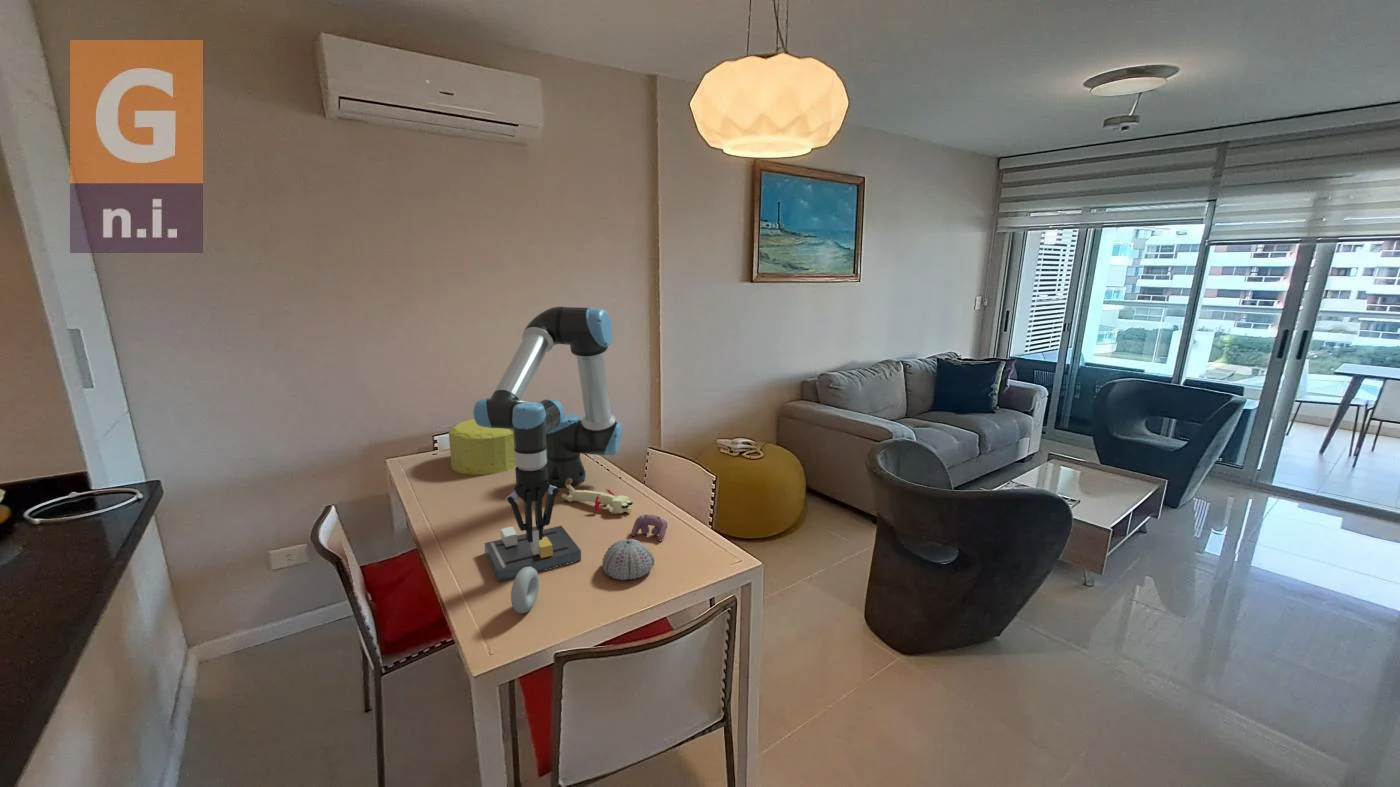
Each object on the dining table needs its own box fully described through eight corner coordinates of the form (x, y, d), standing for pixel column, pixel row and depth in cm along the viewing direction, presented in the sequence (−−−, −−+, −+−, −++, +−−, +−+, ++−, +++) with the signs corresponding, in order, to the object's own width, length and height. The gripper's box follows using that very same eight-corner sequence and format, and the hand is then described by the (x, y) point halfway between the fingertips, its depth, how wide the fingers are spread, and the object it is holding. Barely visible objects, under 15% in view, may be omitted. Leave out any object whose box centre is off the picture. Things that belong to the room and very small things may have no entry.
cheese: (537, 462, 217) (535, 425, 214) (473, 481, 198) (470, 440, 194) (501, 446, 234) (499, 412, 230) (438, 462, 214) (435, 425, 211)
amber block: (547, 546, 148) (546, 536, 147) (552, 555, 144) (552, 544, 143) (535, 549, 146) (535, 539, 146) (541, 558, 142) (540, 547, 142)
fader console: (561, 535, 161) (561, 525, 160) (581, 560, 148) (580, 550, 147) (485, 553, 150) (484, 542, 150) (498, 582, 137) (497, 571, 136)
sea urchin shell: (592, 578, 140) (591, 549, 139) (617, 552, 153) (617, 525, 151) (639, 589, 136) (639, 560, 134) (662, 562, 148) (662, 535, 147)
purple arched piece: (666, 542, 162) (670, 517, 163) (661, 542, 158) (665, 517, 159) (634, 536, 165) (639, 512, 166) (629, 536, 160) (633, 512, 162)
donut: (528, 595, 132) (526, 557, 130) (542, 597, 132) (540, 558, 129) (509, 622, 123) (506, 581, 120) (524, 623, 122) (522, 582, 120)
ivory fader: (512, 536, 153) (512, 526, 152) (517, 544, 149) (516, 534, 148) (501, 539, 151) (500, 528, 151) (505, 547, 147) (505, 536, 147)
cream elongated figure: (557, 508, 181) (623, 518, 171) (554, 483, 179) (621, 491, 169) (576, 497, 190) (640, 506, 180) (573, 473, 188) (638, 480, 178)
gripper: (552, 456, 145) (555, 539, 150) (500, 464, 138) (505, 551, 144) (561, 465, 139) (564, 552, 144) (507, 475, 132) (512, 565, 137)
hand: (535, 551), depth 144 cm, fingers closed
